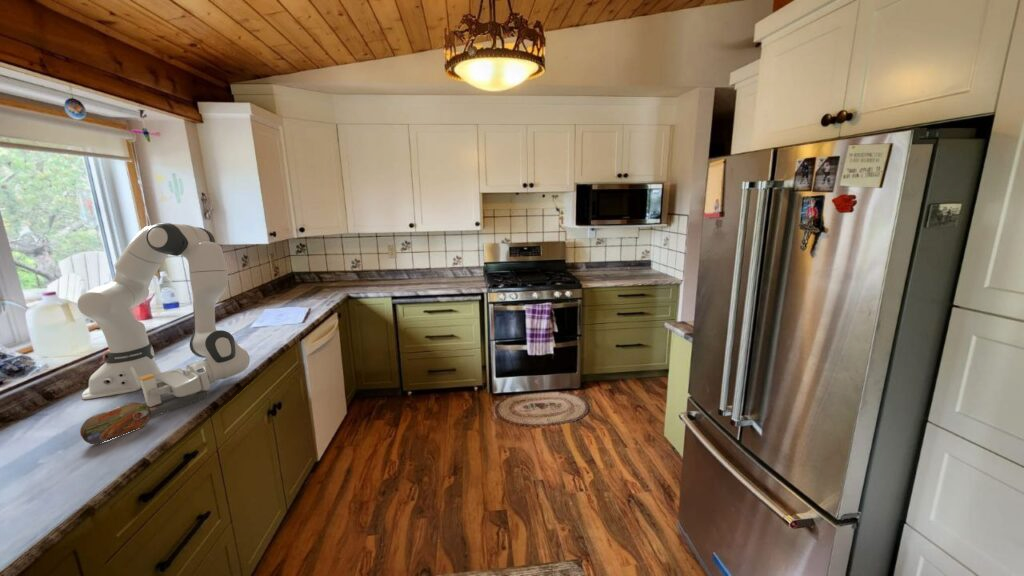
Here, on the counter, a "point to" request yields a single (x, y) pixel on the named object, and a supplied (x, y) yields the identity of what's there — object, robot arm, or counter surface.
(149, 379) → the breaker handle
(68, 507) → the counter surface
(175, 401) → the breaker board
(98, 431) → the tin
